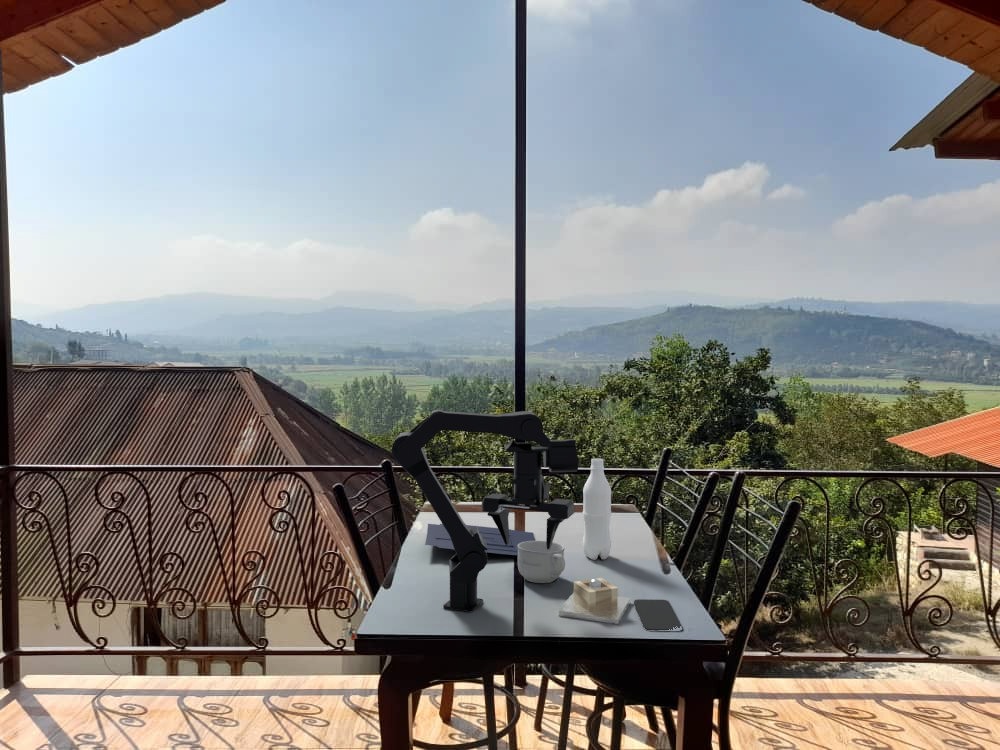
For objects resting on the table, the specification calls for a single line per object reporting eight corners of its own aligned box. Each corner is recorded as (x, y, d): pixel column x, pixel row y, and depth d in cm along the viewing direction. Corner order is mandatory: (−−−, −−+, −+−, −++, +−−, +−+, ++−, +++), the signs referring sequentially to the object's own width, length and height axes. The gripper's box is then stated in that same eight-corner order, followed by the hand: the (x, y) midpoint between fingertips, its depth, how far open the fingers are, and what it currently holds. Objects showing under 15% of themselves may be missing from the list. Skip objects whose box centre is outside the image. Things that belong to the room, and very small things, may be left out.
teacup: (510, 574, 165) (510, 541, 165) (552, 569, 169) (552, 536, 169) (534, 594, 152) (534, 558, 152) (578, 588, 156) (579, 553, 156)
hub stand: (618, 624, 136) (618, 592, 136) (558, 615, 141) (558, 585, 140) (630, 602, 147) (630, 573, 147) (574, 595, 152) (574, 566, 151)
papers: (427, 531, 199) (428, 518, 198) (531, 541, 201) (533, 529, 201) (423, 558, 174) (425, 543, 174) (542, 569, 176) (544, 555, 176)
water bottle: (610, 562, 174) (611, 462, 173) (581, 560, 176) (581, 461, 174) (611, 553, 181) (612, 457, 180) (583, 552, 183) (584, 456, 182)
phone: (644, 629, 133) (632, 599, 148) (644, 633, 133) (632, 603, 148) (684, 629, 133) (668, 599, 148) (684, 634, 133) (668, 603, 148)
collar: (617, 607, 142) (617, 587, 142) (589, 612, 140) (589, 592, 140) (600, 596, 148) (600, 577, 148) (573, 600, 146) (573, 581, 146)
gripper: (581, 468, 150) (581, 540, 151) (500, 463, 157) (500, 532, 158) (566, 478, 140) (566, 555, 140) (480, 472, 147) (480, 545, 147)
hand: (527, 546), depth 147 cm, fingers open, 9 cm apart
